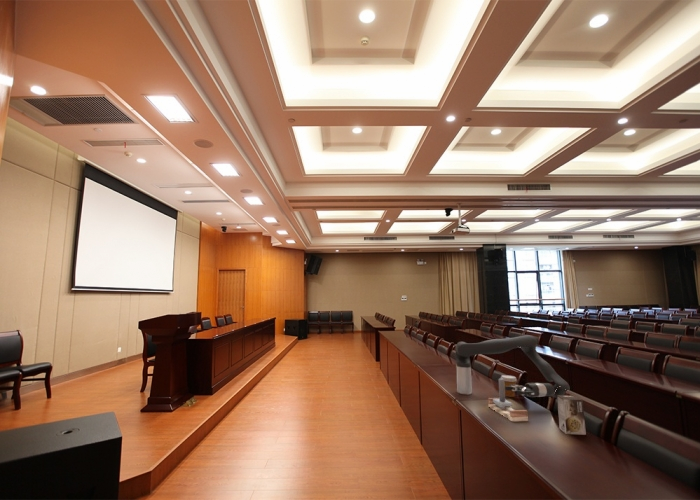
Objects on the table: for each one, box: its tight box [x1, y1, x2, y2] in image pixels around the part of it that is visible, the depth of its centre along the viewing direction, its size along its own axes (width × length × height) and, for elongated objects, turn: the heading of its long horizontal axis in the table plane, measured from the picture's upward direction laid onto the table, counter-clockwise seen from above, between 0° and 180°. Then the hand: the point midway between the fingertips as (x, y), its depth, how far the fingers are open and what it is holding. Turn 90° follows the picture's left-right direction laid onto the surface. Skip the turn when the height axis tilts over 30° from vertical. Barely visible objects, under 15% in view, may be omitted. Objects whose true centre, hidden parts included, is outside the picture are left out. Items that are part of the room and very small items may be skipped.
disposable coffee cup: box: [500, 374, 517, 398], centre depth 214 cm, size 10×10×12 cm
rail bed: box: [487, 397, 529, 422], centre depth 181 cm, size 22×9×5 cm, turn 8°
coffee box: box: [557, 394, 587, 436], centre depth 158 cm, size 9×6×16 cm
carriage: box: [493, 378, 514, 409], centre depth 185 cm, size 8×7×15 cm
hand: (510, 390), depth 186 cm, fingers open, 8 cm apart
